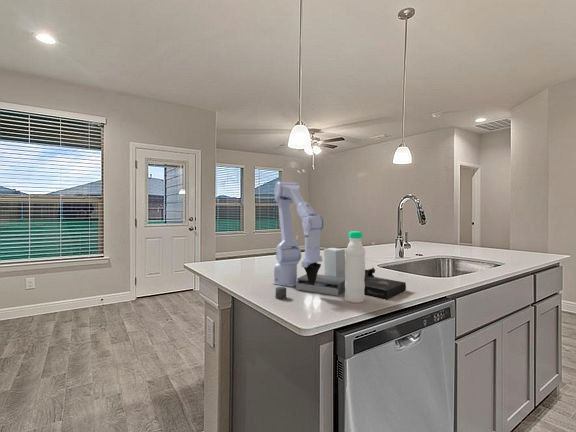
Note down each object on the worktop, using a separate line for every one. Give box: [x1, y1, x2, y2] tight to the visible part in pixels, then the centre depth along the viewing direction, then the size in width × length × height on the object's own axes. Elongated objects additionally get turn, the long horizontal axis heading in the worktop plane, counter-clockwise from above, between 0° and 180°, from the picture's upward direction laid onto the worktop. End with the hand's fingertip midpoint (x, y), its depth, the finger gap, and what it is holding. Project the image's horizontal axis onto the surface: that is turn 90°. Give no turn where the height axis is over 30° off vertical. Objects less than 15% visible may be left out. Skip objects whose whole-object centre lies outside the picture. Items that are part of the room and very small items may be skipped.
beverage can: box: [365, 267, 376, 277], centre depth 144 cm, size 9×8×12 cm
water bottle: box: [344, 230, 366, 304], centre depth 114 cm, size 7×7×25 cm
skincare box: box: [323, 247, 346, 278], centre depth 142 cm, size 8×6×15 cm
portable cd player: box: [364, 276, 407, 301], centre depth 127 cm, size 16×17×4 cm
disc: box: [314, 282, 328, 287], centre depth 128 cm, size 6×6×2 cm
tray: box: [295, 281, 339, 297], centre depth 129 cm, size 18×11×2 cm, turn 62°
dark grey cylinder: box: [275, 286, 287, 300], centre depth 118 cm, size 4×4×4 cm
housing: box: [297, 273, 346, 296], centre depth 130 cm, size 18×11×4 cm, turn 62°
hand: (311, 282), depth 120 cm, fingers closed
